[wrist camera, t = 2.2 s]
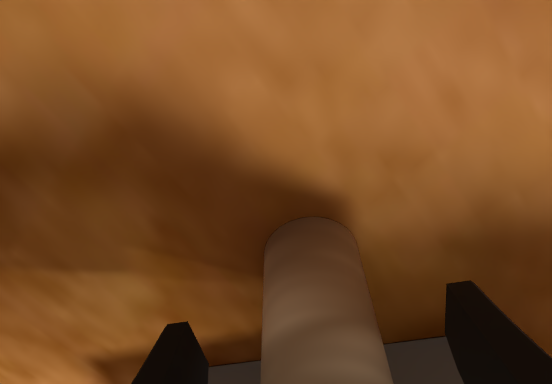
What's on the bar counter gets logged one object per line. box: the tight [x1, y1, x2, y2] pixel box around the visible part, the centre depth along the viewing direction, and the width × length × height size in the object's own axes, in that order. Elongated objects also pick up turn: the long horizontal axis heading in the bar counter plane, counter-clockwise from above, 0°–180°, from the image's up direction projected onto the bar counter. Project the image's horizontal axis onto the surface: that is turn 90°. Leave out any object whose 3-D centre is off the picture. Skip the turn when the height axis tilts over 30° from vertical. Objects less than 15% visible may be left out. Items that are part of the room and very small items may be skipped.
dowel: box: [261, 217, 394, 384], centre depth 10 cm, size 3×3×8 cm
